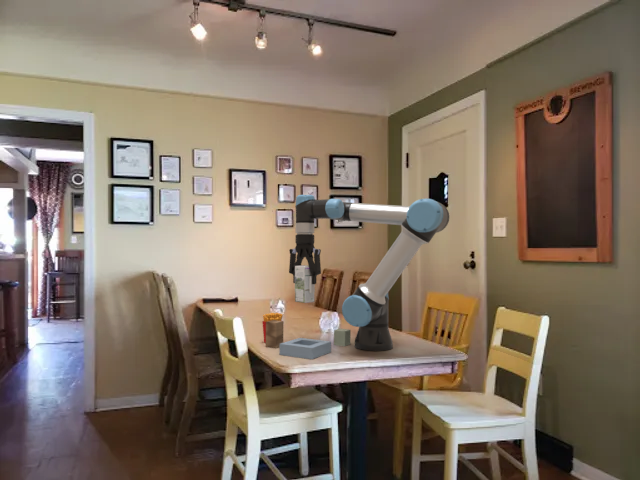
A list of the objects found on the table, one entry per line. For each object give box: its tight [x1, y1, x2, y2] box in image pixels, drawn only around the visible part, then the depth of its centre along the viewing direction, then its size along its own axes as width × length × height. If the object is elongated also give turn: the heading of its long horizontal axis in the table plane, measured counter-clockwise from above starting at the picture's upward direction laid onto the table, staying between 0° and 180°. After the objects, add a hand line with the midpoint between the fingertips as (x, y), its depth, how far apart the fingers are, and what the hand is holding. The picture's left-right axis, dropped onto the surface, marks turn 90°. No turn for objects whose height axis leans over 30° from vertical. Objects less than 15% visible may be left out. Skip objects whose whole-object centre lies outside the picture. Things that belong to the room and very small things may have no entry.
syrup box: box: [294, 264, 315, 304], centre depth 191 cm, size 6×6×14 cm
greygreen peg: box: [333, 328, 352, 347], centre depth 197 cm, size 5×5×6 cm
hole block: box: [278, 337, 332, 360], centre depth 180 cm, size 14×14×4 cm
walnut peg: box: [265, 320, 284, 349], centre depth 192 cm, size 5×5×10 cm
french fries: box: [261, 312, 284, 344], centre depth 201 cm, size 8×4×12 cm, turn 119°
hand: (304, 292), depth 191 cm, fingers closed on syrup box, 6 cm apart
